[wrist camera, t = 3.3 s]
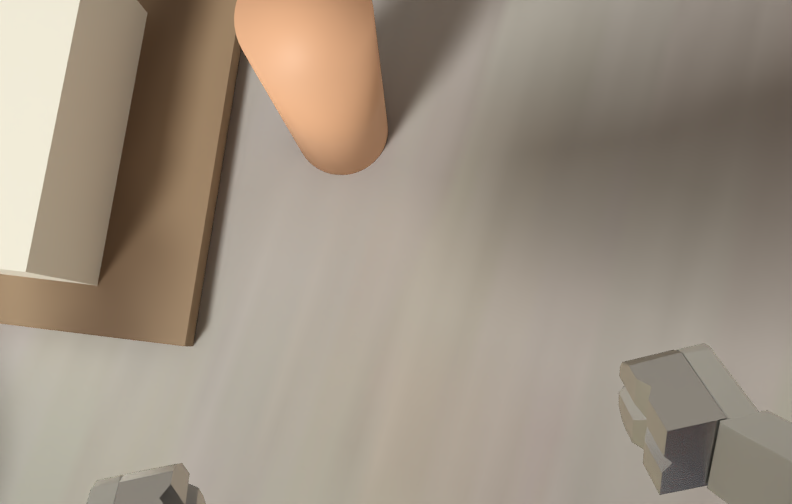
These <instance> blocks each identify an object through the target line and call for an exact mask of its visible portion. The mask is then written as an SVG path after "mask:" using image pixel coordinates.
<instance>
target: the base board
mask: <svg viewBox="0 0 792 504" xmlns="http://www.w3.org/2000/svg"><path fill="white" fill-rule="evenodd" d="M137 1H138V2H139V3H140V4H141V6H142V7H143V8H144V9H145V11H146V12H147V18H146V24H145V29H144V35H143V40H142V46H141V51H140V57H139V62H138V67H137V73H136V78H135V84H134V89H133V95H132V100H131V105H130V111H129V116H128V122H127V127H126V133H125V138H124V143H123V149H122V154H121V160H120V165H119V171H118V176H117V181H116V187H115V192H114V198H113V203H112V209H111V214H110V219H109V225H108V230H107V236H106V241H105V247H104V252H103V257H102V263H101V268H100V274H99V279H98V285H97V286H96V285H88V284H80V283H71V282H63V281H55V280H46V279H38V278H30V277H21V276H13V275H5V274H0V324H9V325H17V326H25V327H33V328H41V329H49V330H57V331H65V332H73V333H82V334H90V335H98V336H106V337H114V338H122V339H130V340H138V341H146V342H155V343H163V344H171V345H179V346H193V342H194V336H195V330H196V324H197V318H198V312H199V305H200V299H201V293H202V287H203V281H204V274H205V268H206V262H207V256H208V250H209V244H210V237H211V231H212V225H213V219H214V213H215V206H216V200H217V194H218V188H219V182H220V175H221V169H222V163H223V157H224V151H225V145H226V138H227V132H228V126H229V120H230V114H231V107H232V101H233V95H234V89H235V83H236V77H237V70H238V64H239V58H240V52H241V46H240V44H239V42H238V39H237V36H236V32H235V27H234V13H235V6H236V2H237V0H137Z"/></svg>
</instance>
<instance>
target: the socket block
mask: <svg viewBox="0 0 792 504" xmlns="http://www.w3.org/2000/svg"><path fill="white" fill-rule="evenodd" d="M146 18H147V12H146V11H145V9H144V8H143V7H142V6H141V4H140V3H139V2H138V1H137V0H0V274H5V275H13V276H21V277H30V278H38V279H46V280H55V281H63V282H71V283H80V284H88V285H96V286H97V285H98V279H99V274H100V268H101V263H102V257H103V252H104V247H105V241H106V236H107V230H108V225H109V219H110V214H111V209H112V203H113V198H114V192H115V187H116V181H117V176H118V171H119V165H120V160H121V154H122V149H123V143H124V138H125V133H126V127H127V122H128V116H129V111H130V105H131V100H132V95H133V89H134V84H135V78H136V73H137V67H138V62H139V57H140V51H141V46H142V40H143V35H144V29H145V24H146Z"/></svg>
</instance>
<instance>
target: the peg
mask: <svg viewBox="0 0 792 504" xmlns="http://www.w3.org/2000/svg"><path fill="white" fill-rule="evenodd" d="M234 27H235V32H236V36H237V39H238V42H239V44H240V46H241V48H242V50H243V52H244V54H245V55H246V57H247V59H248V61H249V62H250V64H251V66H252V67H253V69H254V71H255V73H256V74H257V76H258V78H259V79H260V81H261V83H262V85H263V86H264V88H265V90H266V91H267V93H268V95H269V97H270V98H271V100H272V102H273V103H274V105H275V107H276V109H277V110H278V112H279V114H280V116H281V117H282V119H283V121H284V122H285V124H286V126H287V128H288V129H289V131H290V133H291V134H292V136H293V138H294V140H295V141H296V143H297V145H298V146H299V148H300V150H301V152H302V153H303V155H304V156H305V158H306V159H307V160H308V161H309V162H310V163H311V164H312V165H313V166H315V167H316V168H318V169H320V170H322V171H324V172H327V173H330V174H336V175H347V174H352V173H356V172H359V171H361V170H363V169H365V168H367V167H368V166H370V165H371V164H372V163H373V162H374V161H375V160H376V159H377V158H378V157H379V155H380V154H381V152H382V151H383V149H384V147H385V144H386V141H387V136H388V124H387V115H386V107H385V99H384V91H383V83H382V75H381V67H380V59H379V51H378V43H377V35H376V26H375V18H374V10H373V4H372V0H237V2H236V6H235V13H234Z"/></svg>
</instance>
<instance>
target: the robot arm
mask: <svg viewBox="0 0 792 504" xmlns="http://www.w3.org/2000/svg"><path fill="white" fill-rule="evenodd" d="M619 376H620V378H621V380H622V382H623V384H624V387H623V388H622V389H621V390H620V392H619V409H620V413H621V418H622V421H623V424H624V426H625V429H626V431H627V433H628V435H629V437H630V439H631V441H632V443H634V444H636V445H637V446H639V447H641V448H642V449H644V454H643V464H644V466H645V468H646V470H647V472H648V474H649V476H650V478H651V479H652V481H653V483H654V485H655V487H656V489H657V491H658V493H659V495H662V494H667V493H672V492H677V491H682V490H687V489H692V488H697V487H702V486H707V485H708V486H707V488H708V489H709V490H710V491H712V492H713V493H714V494H716V495H717V496H718V497H720V498H721V499H722V500H724V501H725V502H727V503H728V504H792V423H791V422H789V421H787V420H785V419H783V418H781V417H779V416H778V415H776V414H774V413H772V412H770V411H768V410H767V411H761V412H759V411H758V410H757V409H756V407H755V406H754V405H753V403H752V402H751V401H750V399H749V398H748V397H747V395H746V394H745V393H744V391H743V390H742V389H741V387H740V386H739V385H738V383H737V382H736V381H735V379H734V378H733V377H732V375H731V374H730V373H729V372H728V370H727V369H726V368H725V366H724V365H723V364H722V362H721V361H720V360H719V358H718V357H717V356H716V354H715V353H714V352H713V350H712V349H711V348H710V347H709V346H708V345H706V344H699V345H695V346H690V347H686V348H681V349H677V350H670V351H666V352H662V353H658V354H654V355H649V356H645V357H641V358H637V359H633V360H629V361H624V362H622V364H621V366H620V374H619ZM189 474H190V473H189V472H188V471H187V469H186V468H185V466H184V465H183V464H182V463H180V464H174V465H169V466H164V467H159V468H154V469H149V470H144V471H139V472H134V473H129V474H124V475H119V476H115V477H110V478H105V479H101V480H97V481H96V482H95V484H94V485H93V487H92V488H91V490H90V493H89V497H88V500H87V504H206V503H205V500H204V497H203V495H202V493H201V491H200V490H199V488H198V487H195V486H193V485H191V484H188V481H189Z"/></svg>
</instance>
